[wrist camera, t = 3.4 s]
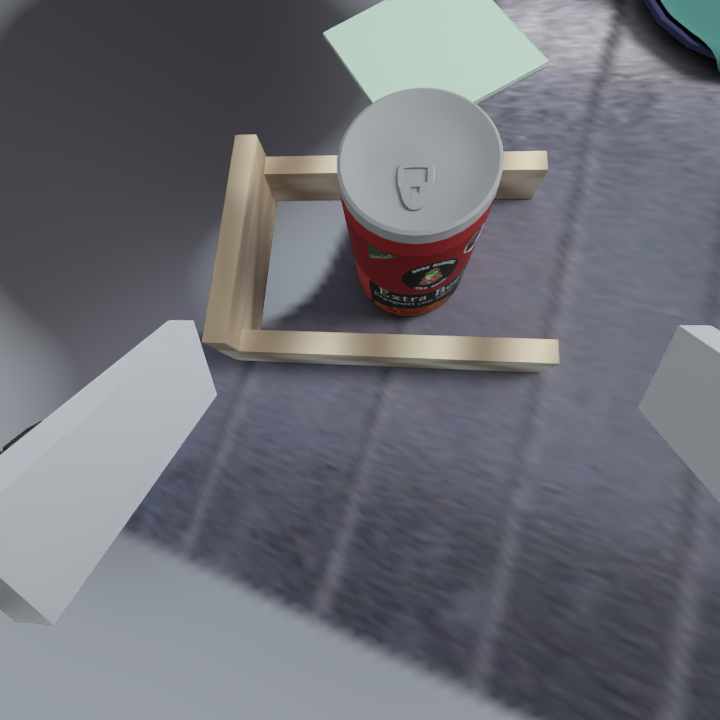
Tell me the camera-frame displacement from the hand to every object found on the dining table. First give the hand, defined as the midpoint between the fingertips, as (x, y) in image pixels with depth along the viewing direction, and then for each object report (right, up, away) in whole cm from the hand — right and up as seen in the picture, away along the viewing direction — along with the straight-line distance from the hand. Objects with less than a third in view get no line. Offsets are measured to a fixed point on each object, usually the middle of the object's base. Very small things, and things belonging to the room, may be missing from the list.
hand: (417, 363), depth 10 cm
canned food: (+2, +7, +17) cm, 18 cm away
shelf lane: (+1, +7, +16) cm, 18 cm away
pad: (+4, +27, +21) cm, 34 cm away
